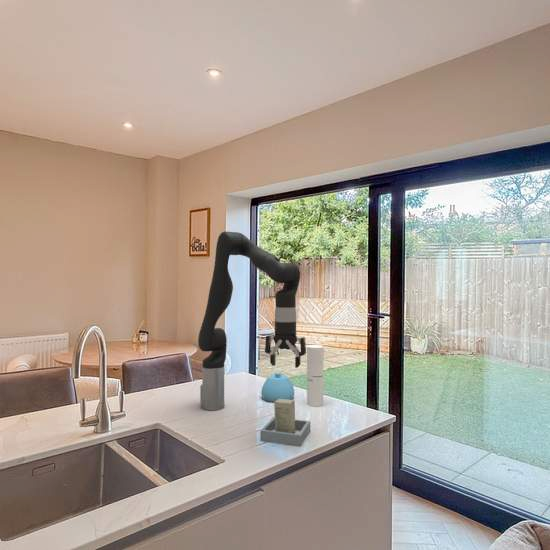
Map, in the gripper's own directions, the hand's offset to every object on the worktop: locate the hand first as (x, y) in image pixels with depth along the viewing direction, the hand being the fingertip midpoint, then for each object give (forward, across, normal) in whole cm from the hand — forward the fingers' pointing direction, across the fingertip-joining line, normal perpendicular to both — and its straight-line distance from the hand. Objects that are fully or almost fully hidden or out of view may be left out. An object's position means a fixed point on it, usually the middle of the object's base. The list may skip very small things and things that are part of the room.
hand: (285, 366), depth 144 cm
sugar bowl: (+25, -16, +41) cm, 50 cm away
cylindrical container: (+24, +2, +38) cm, 45 cm away
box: (+24, +1, 0) cm, 24 cm away
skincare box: (+24, 0, 0) cm, 24 cm away
